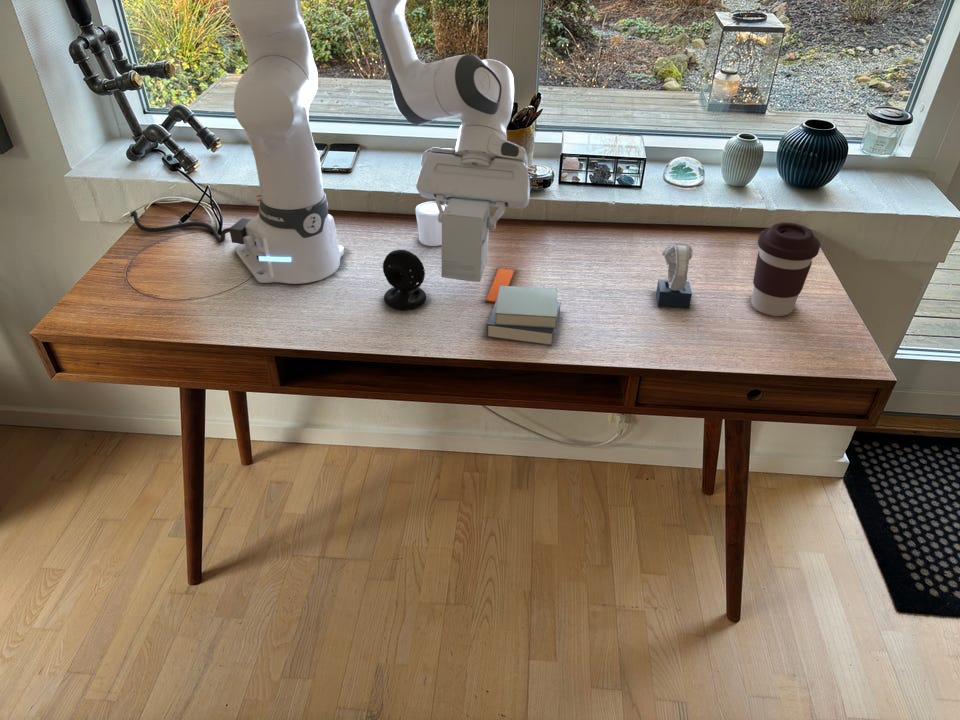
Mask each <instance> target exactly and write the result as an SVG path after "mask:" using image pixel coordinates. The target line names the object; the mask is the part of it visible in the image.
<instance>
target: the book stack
mask: <svg viewBox="0 0 960 720" xmlns="http://www.w3.org/2000/svg"><path fill="white" fill-rule="evenodd" d="M560 314H561V301H558V288H550V287H549V288H548V287H532V286H513V285H509V286H500V287H499V293H498V297H497V300H496V302H495V303H494V305H493V308H492V310H491V313H490V314H489V318H488V321H487V323H486V338H493V339H500V340H508V341H513V342H522V343H528V344H538V345H545V346H552V345H553V342H554V338H555V334H556V330H557V326H558V322H559V319H560V316H561V315H560Z"/></svg>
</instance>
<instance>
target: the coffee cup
mask: <svg viewBox="0 0 960 720" xmlns="http://www.w3.org/2000/svg"><path fill="white" fill-rule="evenodd" d="M757 245H758V247H759V251H758V253H757V255H756V262H755V267H754V274H753V282H752V283H753V287H752V293H751V300H750V302H751V306H752V307H753V308H754V309H755V310H756V311H758V312H759V313H762V314H764V315H767V316H772V317H782V316H783V317H784V316H787V315H790V314H791V313H792V312H793V310H794V308H795V305H796V303H797V300H798V298H799V295H800V294H801V292H802V290H803V288H804V286H805V283H806V280H807V277H808V275H809V273H810V270H811V267H812V264H813V262H812V260H813V258H814V259H815V257H817V256H818V255H819V252H820V249H821V242H820V240H819V239H818V238H817V237H816V236H815V235H814V233H813V232H812V230H811V229H810V228H809V227H807V226H806V225H805V226H804V225H803V224H799V223H796V222H795V223H794V222H784V221H783V222H777V223H774V224H773V225H772V226H770V227H767V228H764V229H763V230H762V231H760V233H759V235H758V239H757Z"/></svg>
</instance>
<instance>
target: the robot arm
mask: <svg viewBox="0 0 960 720" xmlns="http://www.w3.org/2000/svg"><path fill="white" fill-rule="evenodd" d="M407 1H408V0H365V3H366V4H365V5H366V9H367V11H368V15H369V19H370V21H371V24H372V27H373V30H374V34H375V37H376V41H377V43H378V46H379V49H380V52H381V55H382V57H383V61H384V64H385V67H386V71H387V73H388V77H389V81H390V86H391V93H392V98H393V102H394V105H395V107H396V110H397V111H398V112H399V114H400V115H401V117H403V118H404V119H405V120H406V121H408V122H409V123H411V124H412V125H415V126H423V125H426V124H430V123H433V122H437V121H439V120H445V119H450V118H456V117H457V118H458V119H460V120H461V125H460V126H459V128H458V132H457V133H458V134H457V137H456V138H457V140H456V144H455V148H449V147H448V148H446V147H445V148H441V147H437V146H435V147H434V146H433V147H431V148H429V149H426V150H425V151H423V153H422V155H421V159H420V167H421V168H420V169H419V173H418V176H417V180H416V183H415V185H416V186H415V187H416V190H417V192H418V194H419V195H420V196H421V197H422V198H424V199H431V200H434V202H436V204H437V207H438V210H439V216H438V221H439V223H442V213H443V208H442V205H445V204H446V201H447V202H449V200H450V198H461V199H472V200H482V201H489V202H490V205H489V206H492V207H495V209H496V211H495V212H494V213H493V215H492V216H490V215H489V216H488V217H487V225H486V227H487V229H489V230H496V227H497V222H498V221H499V220H500V218H502V216H503V215H504V214H505V213H506V208H509V209H517V210H524V209H525V208H526V207H528V205H529V203H530V197H531V196H530V193H531V180H530V174H529V170H528V167H529V156H528V154H527V151H526V149H525V147H523V146H520V145H518V144H516V143H514V142H511V141H509V140H508V134H507V133H508V132H507V129H508V126H509V124H510V122H511V119H512V113H513V106H514V98H515V81H514V75H513V72H512V70H511V69H510V68H509V67H508V66H507V64H504V63H503V62H501V61H499V60H496V59H490V58H488V59H487V58H486V59H481V58H479V57H478V56H476V55H474V54H470V53H467V54H460V55H454V56H450V57H446V58H443V59H440V60H435V61H431V62H428V63H427V62H426V63H425V62H423V61H421V60H420V59H419V57H418V56H417V52H416V49H415V46H414V43H413V40H412V36H411V34H410V30H409V26H408V23H407V20H406V14H405V10H406V9H405V8H406V3H407ZM227 3H228V9H229V15H230V18H231V20H232V22H233V24H234V25H235V26H236V28H237V30H238V32H239V35H240V38H241V41H242V43H243V47H244V50H245V52H246V56H247V69H246V71H245V72H244V74H242V76H241V77H240V79H239V80H238V82H237V84H236V87H235V91H234V96H233V111H234V116H235V118H236V120H237V122H238V123H239V125H240V126H241V127H242V129H243V130H244V132H245V135H246V138H247V141H248V143H249V146H250V148H251V151H252V155H253V158H254V161H255V166H256V173H257V178H258V185H259V189H260V194H259V195H256V198H257V200H256V202H259V206H258V213H257V215H255V216H254V217H253V218H245V217H242V218H240V219H239V220H238V221H237V222H235V223H234V224H233V225H232V226H230V227H226V228H224V229H222V230H221V231H220V234H219V233H218V232H217V230H216V229H215V227H213V226H212V225H210V224H209V223H206V222H202V221H190V222H189V221H188V222H182V223H177V224H171V225H166V226H161V227H147V226H144V225H143V224H142V223H141V222H140V220H139V216H138V211H136V210H132V211H131V213H130V217H133V221H134V224H135V226H137V228H138V229H140V231H144V232H150V233H159V232H166V231H172V230H177V229H182V228H187V227H202V228H205V229H207V230H209V231H210V232H211V233H212V235H213V236H214V238H215V239H216V241H217V242H219V243H223V242H225V240H226V234H227V233H229V235H230V241H231V243H232V244H238V245H236V247H235V253H236V254H237V256H238V257H239V259H240V260H241V262H243V264H244V265H245V266H246V268H247V269H248V270H249V272H250V273H251V274H252V276H253V277H254V278H255V280H256V281H257V282H258V283H260V284H271V283H272V284H273V283H281V284H289V285H302V284H308V283H310V284H311V283H314V282H318V281H321V280H324V279H326V278H328V277H330V276H332V275H333V274H335V273H336V272H337V271H338V270H339V268H340V266H341V258H342V257H343V255H344V254H345V247H344V246H343V245H340V244H339V240H338V234H337V229H336V224H335V220H334V217H333V216H332V215H331V214H329V202H328V199H327V194H326V193H325V191H324V185H323V177H322V176H323V175H322V167H321V158H320V153H319V151H318V149H317V147H316V144H315V141H314V138H313V134H312V129H311V126H310V119H309V110H310V105H311V103H312V101H313V100H314V97H315V96H316V94H317V91H318V83H319V76H318V75H319V74H318V68H317V64H316V62H315V59H314V55H313V51H312V45H311V42H310V38H309V34H308V32H307V31H308V30H307V27H306V24H305V19H304V15H303V10H302V9H303V8H302V3H301V0H227Z"/></svg>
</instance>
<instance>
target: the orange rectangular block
mask: <svg viewBox="0 0 960 720" xmlns="http://www.w3.org/2000/svg"><path fill="white" fill-rule="evenodd" d="M514 273H515V269H507V268H498V270H497V272H496V274H495V277H494V279H493V281H492V285H491V287H490V290H489V291H488V294H487V296H486V298H485V302H486V303H493V304H495V302H496V300H497V297H498V293H499V287H500V286H510V284H511V281H512V279H513V277H514Z"/></svg>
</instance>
